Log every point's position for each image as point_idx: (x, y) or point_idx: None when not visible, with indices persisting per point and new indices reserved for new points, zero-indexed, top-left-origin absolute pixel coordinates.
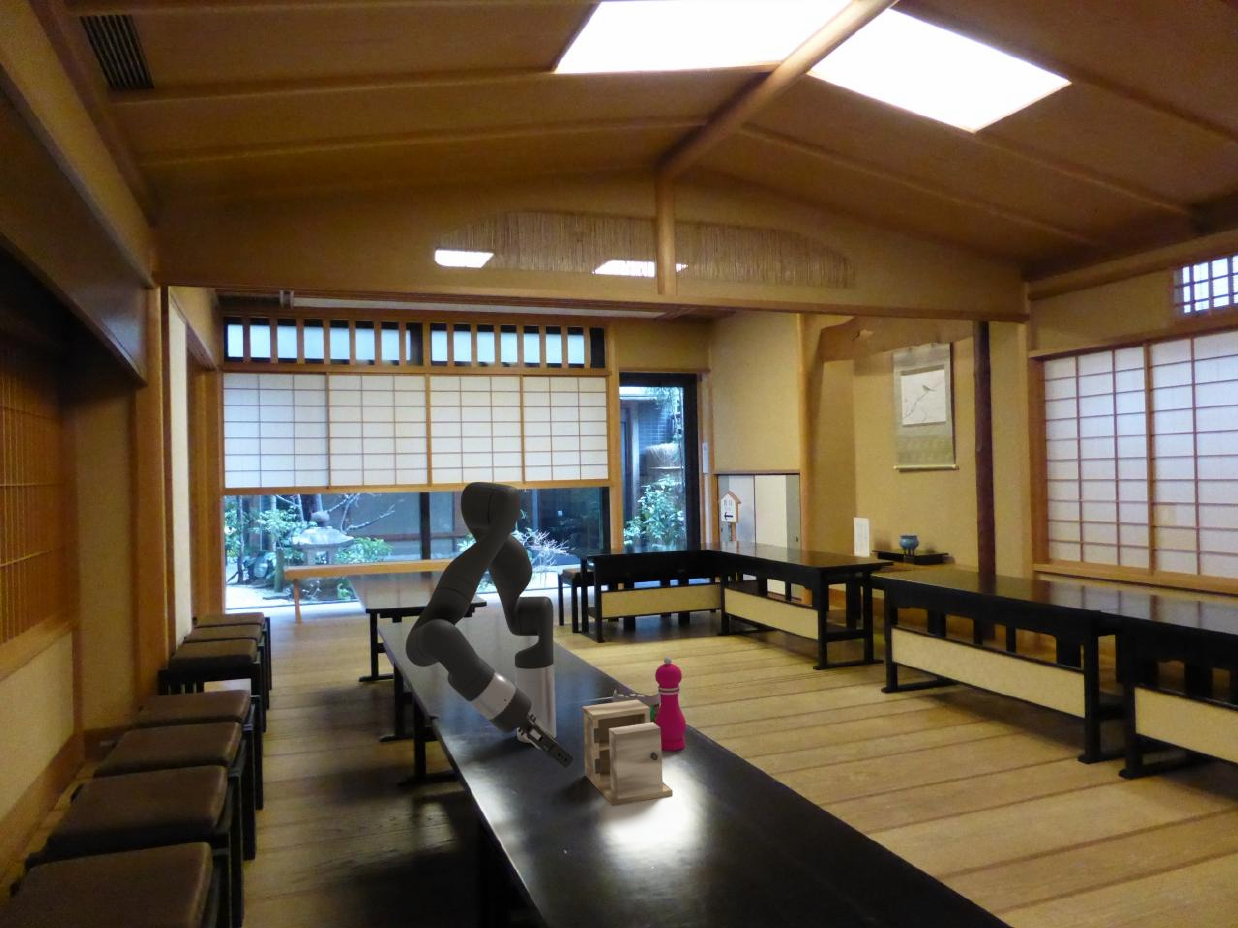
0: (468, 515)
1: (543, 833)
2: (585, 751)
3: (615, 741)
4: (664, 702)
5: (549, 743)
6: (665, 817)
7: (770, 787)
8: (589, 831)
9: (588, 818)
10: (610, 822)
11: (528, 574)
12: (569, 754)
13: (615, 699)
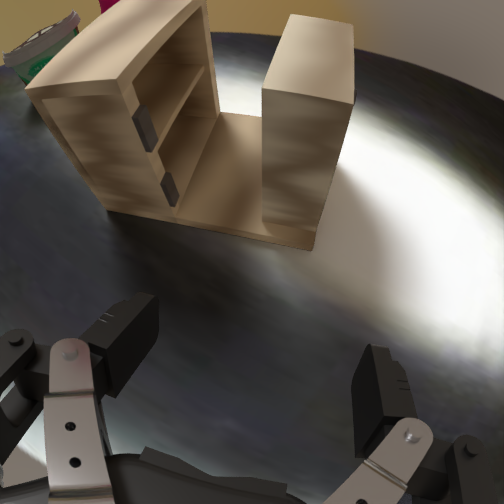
0: None
1: (356, 466)
2: (89, 176)
3: (339, 125)
4: (115, 3)
5: (135, 350)
6: (419, 203)
7: (369, 55)
8: (410, 368)
9: (346, 338)
10: (393, 305)
11: None
12: (392, 362)
13: (15, 59)
